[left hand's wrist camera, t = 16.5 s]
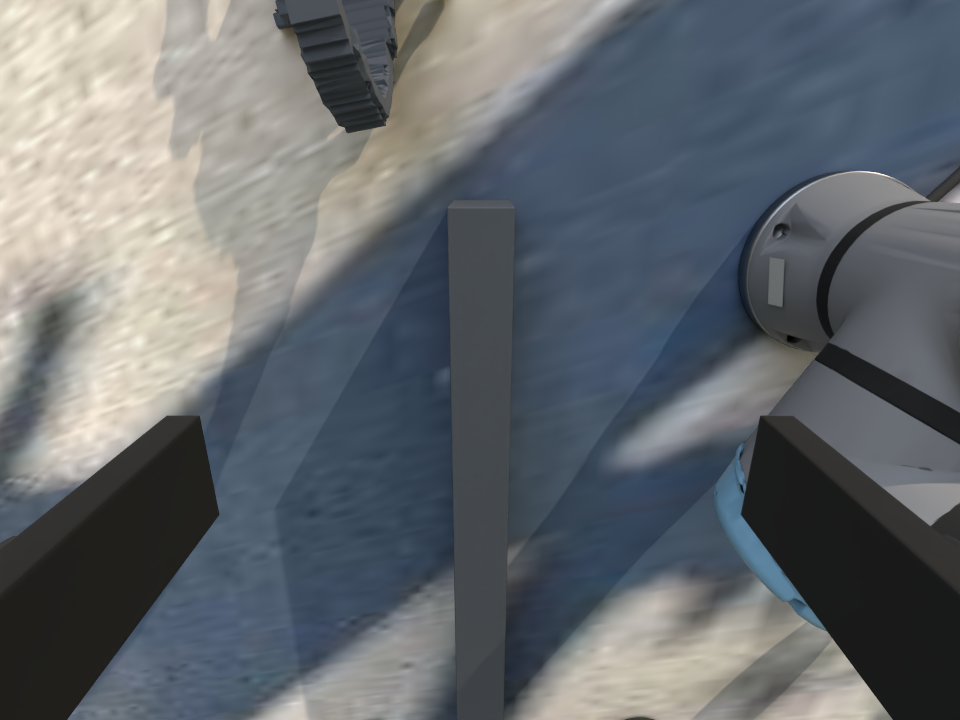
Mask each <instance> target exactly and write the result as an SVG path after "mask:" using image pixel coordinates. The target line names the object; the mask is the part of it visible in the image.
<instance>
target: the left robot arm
mask: <svg viewBox="0 0 960 720" xmlns="http://www.w3.org/2000/svg"><path fill="white" fill-rule="evenodd" d="M959 182H960V167H959V168H958V169H957V170H956V171H955V172H954V173H953V174H952V175H951V176H950V177H949V178H948V179H946V180H945V181H944V182H943V183H942V184H941V185H940V186H939V187H937V188H936V189H935V190H934V191H933V192H932V193H931V194H930V195H928V196H927V197H926V198H925V197H923V196H921V195H919V194H918V193H916V192H915V191H914V190H912V189H911V188H910V187H908V186H907V185H905V184H904V183H902V182H900V181H898V180H896V179H894V178H892V177H889V176H887V175H883V174H880V173H875V172H866V171H839V172H832V173H827V174H823V175H819V176H816V177H813V178H811V179H808V180H806V181H804V182H802V183H800V184H798V185H796V186H795V187H793V188H791V189H790V190H789V191H787V192H786V193H784V194H783V195H782V196H781V197H779V198H778V199H777V200H776V201H775V202H774V203H773V204H772V205H771V206H770V207H769V208H768V209H767V210H766V211H765V212H764V213H763V215H762V216H761V217H760V219H759V220H758V221H757V223H756V224H755V226H754V228H753V229H752V231H751V233H750V235H749V237H748V239H747V241H746V244H745V246H744V249H743V252H742V256H741V260H740V266H739V289H740V294H741V299H742V301H743V304H744V307H745V309H746V311H747V313H748V314H749V316H750V318H751V319H752V320H753V322H754V323H755V324H756V325H757V326H758V327H759V328H760V329H761V330H762V331H764V332H765V333H766V334H768V335H769V336H771V337H773V338H774V339H776V340H778V341H779V342H781V343H783V344H785V345H787V346H790V347H792V348H795V349H799V350H804V351H810V352H820V353H819V354H818V356H817V357H816V358H815V360H813V361H812V363H811V364H810V365H809V366H808V367H807V369H806V370H805V371H804V372H803V373H802V375H801V376H800V377H799V378H798V380H797V381H796V382H795V383H794V384H793V386H792V387H791V388H790V389H789V390H788V392H787V393H786V394H785V395H784V396H783V398H782V399H781V400H780V401H779V402H778V404H777V405H776V406H775V407H774V409H773V410H772V411H771V412H770V413H769V415H768V416H760V420H759V425H758V428H757V429H756V430H755V431H754V433H753V434H752V435H751V436H750V437H749V439H748V440H747V441H745V442H743V443H742V444H741V445H740V446H739V447H738V449H737V451H736V454H735V458H734V459H733V461H732V462H731V463H730V465H729V466H728V467H727V469H726V470H725V472H724V473H723V474H722V476H721V477H720V478H719V480H718V482H717V484H716V486H715V489H714V503H715V512H716V515H717V518H718V520H719V523H720V525H721V527H722V529H723V531H724V533H725V535H726V536H727V538H728V540H729V541H730V543H731V544H732V546H733V547H734V549H735V550H736V552H737V553H738V554H739V556H740V557H741V558H742V560H743V561H744V562H745V563H746V565H747V566H748V567H749V568H750V569H751V571H752V572H753V573H754V574H755V575H756V576H757V577H758V579H759V580H760V581H761V582H762V583H763V584H764V585H765V586H766V587H767V588H768V589H769V590H770V591H771V592H772V593H773V594H774V595H775V596H776V597H777V598H779V599H780V600H781V601H783V602H789V604H790V605H791V606H792V608H793V609H794V610H795V612H796V613H797V614H798V615H799V616H801V617H802V618H804V619H805V620H806V621H808V622H809V623H811V624H813V625H814V626H816V627H818V628H821V629H823V630H825V631H827V632H828V633H829V634H830V636H831V637H832V638H833V640H834V641H835V642H836V644H837V645H838V646H839V648H840V649H841V650H842V652H843V653H844V654H845V656H846V657H847V658H848V660H849V661H850V662H851V664H852V665H853V667H854V668H855V669H856V671H857V672H858V673H859V675H860V676H861V677H862V679H863V680H864V681H865V683H866V684H867V685H868V687H869V688H870V689H871V691H872V692H873V693H874V695H875V696H876V697H877V699H878V700H879V702H880V703H881V704H882V706H883V707H884V708H885V710H886V711H887V712H888V714H889V715H890V716H891V718H892V719H893V720H960V203H946V202H938V201H939V200H940V199H941V198H942V197H944V196H945V195H946V194H947V193H948V192H949V191H950V190H951V189H952V188H954V187H955V186H956V185H957V184H958V183H959ZM817 361H818V362H817ZM824 365H825V366H824ZM826 366H827V367H826ZM828 367H829V368H828ZM831 369H832V370H831ZM833 370H834V371H833ZM835 371H836V372H838V373H839V374H838V373H836V372H835ZM840 374H841V375H840ZM842 375H843V376H845V377H846V378H845V377H843V376H842ZM847 378H848V379H850V380H851V381H850V380H848V379H847ZM852 381H853V382H852ZM854 382H855V383H857V384H858V385H857V384H855V383H854ZM859 385H860V386H862V387H863V388H862V387H860V386H859ZM864 388H865V389H864ZM866 389H867V390H869V391H870V392H869V391H867V390H866ZM871 392H872V393H874V394H875V395H874V394H872V393H871ZM876 395H877V396H876ZM878 396H879V397H880V398H879V397H878ZM881 398H882V399H881ZM883 399H884V400H885V401H884V400H883ZM886 401H887V402H886ZM888 402H889V403H888ZM890 403H891V404H892V405H891V404H890ZM893 405H894V406H893ZM895 406H896V407H897V408H896V407H895ZM898 408H899V409H898ZM900 409H901V410H900ZM903 411H904V412H903ZM905 412H906V413H905ZM908 414H909V415H908ZM910 415H911V416H910ZM912 416H913V417H912ZM915 418H916V419H915ZM917 419H918V420H917ZM920 421H921V422H920ZM922 422H923V423H922ZM927 425H928V426H927ZM932 428H933V429H932ZM934 429H935V430H934ZM937 431H938V432H937ZM939 432H940V433H939ZM944 435H945V436H944ZM949 438H950V439H949ZM956 442H957V443H956ZM218 516H219V510H218V505H217V500H216V495H215V490H214V485H213V480H212V475H211V470H210V465H209V460H208V455H207V450H206V445H205V440H204V435H203V430H202V425H201V420H200V416H166V417H165V418H163V419H162V420H161V421H160V422H158V423H157V424H156V425H155V426H154V427H152V428H151V429H150V430H149V431H147V432H146V433H145V434H144V435H142V436H141V437H140V438H139V439H137V440H136V441H135V442H134V443H132V444H131V445H130V446H129V447H127V448H126V449H125V450H124V451H122V452H121V453H120V454H119V455H117V456H116V457H115V458H114V459H112V460H111V461H110V462H109V463H108V464H106V465H105V466H104V467H103V468H101V469H100V470H99V471H98V472H96V473H95V474H94V475H93V476H91V477H90V478H89V479H88V480H86V481H85V482H84V483H83V484H81V485H80V486H79V487H78V488H76V489H75V490H74V491H73V492H71V493H70V494H69V495H68V496H66V497H65V498H64V499H63V500H62V501H60V502H59V503H58V504H57V505H55V506H54V507H53V508H52V509H50V510H49V511H48V512H47V513H45V514H44V515H43V516H42V517H40V518H39V519H38V520H37V521H35V522H34V523H33V524H32V525H30V526H29V527H28V528H27V529H25V530H24V531H23V532H22V533H20V534H19V535H18V536H13V537H11V538H9V539H7V540H5V541H3V542H1V543H0V720H67V719H68V718H69V716H70V715H71V714H72V712H73V711H74V710H75V708H76V707H77V706H78V704H79V703H80V702H81V700H82V699H83V697H84V696H85V695H86V693H87V692H88V691H89V689H90V688H91V687H92V685H93V684H94V683H95V681H96V680H97V679H98V677H99V676H100V675H101V673H102V672H103V671H104V669H105V668H106V667H107V665H108V664H109V662H110V661H111V660H112V658H113V657H114V656H115V654H116V653H117V652H118V650H119V649H120V648H121V646H122V645H123V644H124V642H125V641H126V640H127V638H128V637H129V636H130V634H131V633H132V632H133V630H134V629H135V627H136V626H137V625H138V623H139V622H140V621H141V619H142V618H143V617H144V615H145V614H146V613H147V611H148V610H149V609H150V607H151V606H152V605H153V603H154V602H155V601H156V599H157V598H158V597H159V595H160V594H161V592H162V591H163V590H164V588H165V587H166V586H167V584H168V583H169V582H170V580H171V579H172V578H173V576H174V575H175V574H176V572H177V571H178V570H179V568H180V567H181V566H182V564H183V563H184V562H185V560H186V559H187V558H188V556H189V555H190V553H191V552H192V551H193V549H194V548H195V547H196V545H197V544H198V543H199V541H200V540H201V539H202V537H203V536H204V535H205V533H206V532H207V531H208V529H209V528H210V527H211V525H212V524H213V523H214V521H215V520H216V518H217V517H218Z"/></svg>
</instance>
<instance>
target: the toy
mask: <svg viewBox="0 0 960 720" xmlns="http://www.w3.org/2000/svg"><path fill="white" fill-rule="evenodd" d="M276 5H277V10H275V11H276V12H277V13H274V14H273V16H274V19H275V22H276V25H277V27H278V28H279V29H282V28H287V27H292V26H293V28H294V32H295V33H296V34H297V37H298V41H299V45H300V48H301V56H302V58H303V60H304V62H305V64H306V66H307V70H308V74H309V75H310V76H311V78H312V79H313V81H314V83H315V85H316V88H317V90H318V92H319V94H320V97H321V99H322V102H323V104H324V105H325V106H326V107H327V108H328V109H329V110H330V112H331V113H332V115H333V116H334V118H335V120H336V122H337V123H338V125H339V126H342V127H345V129H346V132H347V133H351V132H356V131H361V130H366V129H372V128H377V127H382V126H386V124H385V121H386V119H387V118H388V117H389V113H390V109H391V102H392V91H393V83H394V82H395V79H394V78H395V77H394V72H393V60H394V58H397V37H396V31H395V2H394V0H276Z"/></svg>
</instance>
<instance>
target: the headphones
mask: <svg viewBox="0 0 960 720" xmlns="http://www.w3.org/2000/svg"><path fill="white" fill-rule="evenodd" d="M626 720H653V719H649V718H642V717H637V718H629V719H626Z"/></svg>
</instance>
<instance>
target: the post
mask: <svg viewBox="0 0 960 720" xmlns="http://www.w3.org/2000/svg"><path fill="white" fill-rule="evenodd" d="M447 223H448V275H449V326H450V378H451V430H452V481H453V533H454V585H455V637H456V688H457V720H503V717H504V674H505V631H506V587H507V544H508V500H509V457H510V414H511V370H512V327H513V284H514V240H515V207H514V206H513V205H512V203H511V202H510V201H509V200H453V201H452V202H451V204H450V205H449V206H448V208H447Z"/></svg>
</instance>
